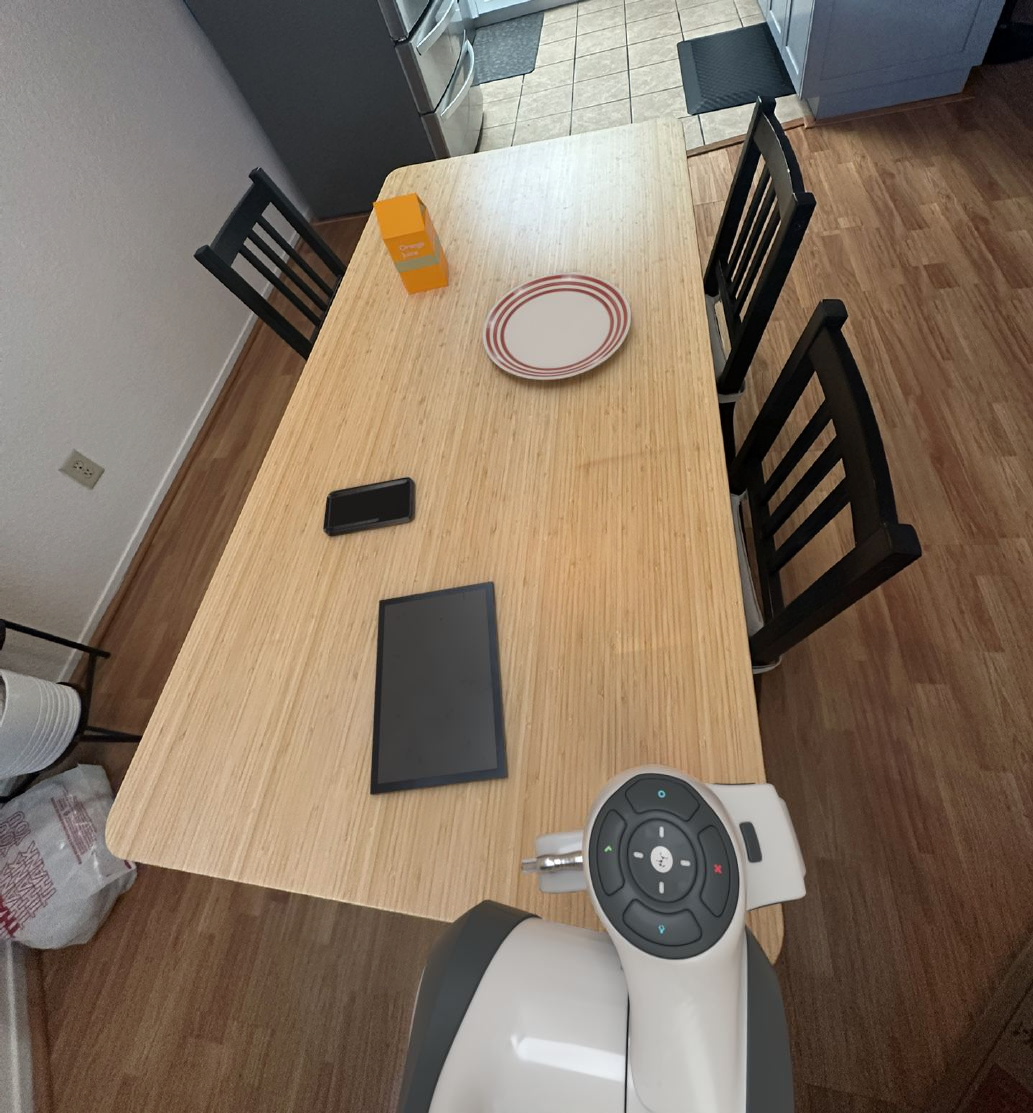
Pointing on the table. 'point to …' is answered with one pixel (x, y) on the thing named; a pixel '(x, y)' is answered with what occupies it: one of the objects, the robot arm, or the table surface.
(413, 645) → the tablet
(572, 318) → the dinner plate
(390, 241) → the orange juice
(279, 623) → the table surface
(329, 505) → the phone
